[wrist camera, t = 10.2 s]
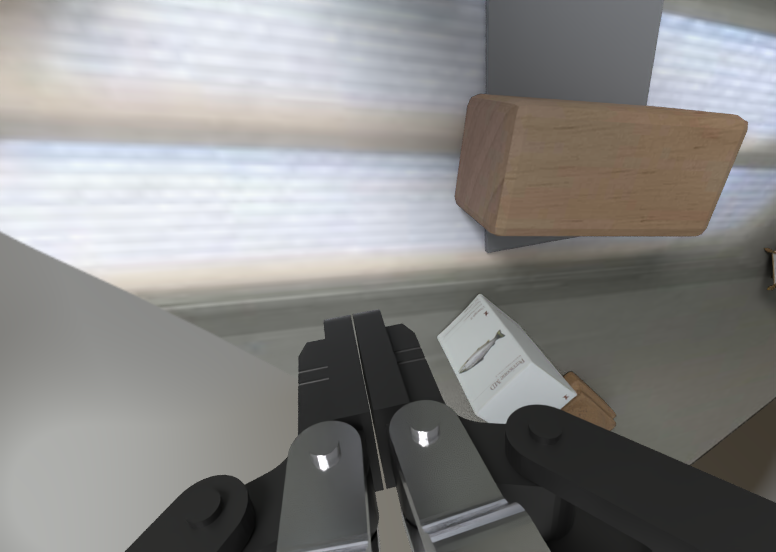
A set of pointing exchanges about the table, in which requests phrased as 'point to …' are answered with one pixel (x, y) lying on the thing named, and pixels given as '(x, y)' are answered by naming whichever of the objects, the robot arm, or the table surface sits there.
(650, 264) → the table surface
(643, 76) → the mat
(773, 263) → the game die
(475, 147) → the block
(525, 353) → the supplement box
